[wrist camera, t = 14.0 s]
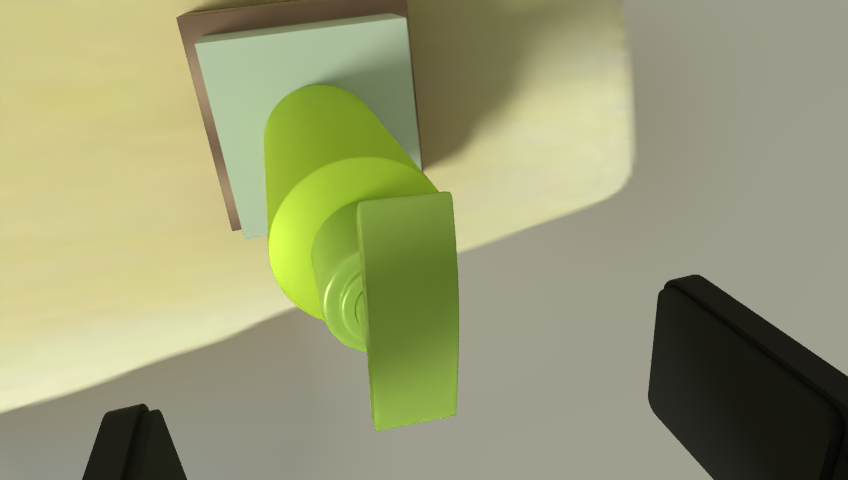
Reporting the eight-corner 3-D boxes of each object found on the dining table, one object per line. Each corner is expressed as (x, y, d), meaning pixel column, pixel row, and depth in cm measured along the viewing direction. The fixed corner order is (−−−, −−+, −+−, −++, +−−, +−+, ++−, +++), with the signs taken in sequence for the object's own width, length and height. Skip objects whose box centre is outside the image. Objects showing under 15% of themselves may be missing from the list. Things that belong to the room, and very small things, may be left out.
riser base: (184, 13, 33) (176, 17, 30) (390, -11, 35) (405, -9, 32) (234, 207, 38) (232, 231, 35) (411, 176, 41) (425, 195, 37)
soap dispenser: (374, 58, 29) (557, 188, 11) (381, 190, 32) (536, 455, 14) (252, 66, 28) (245, 224, 10) (271, 202, 31) (292, 510, 13)
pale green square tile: (201, 35, 30) (194, 43, 27) (389, 12, 32) (405, 17, 29) (245, 212, 35) (244, 239, 31) (408, 183, 36) (425, 205, 33)
